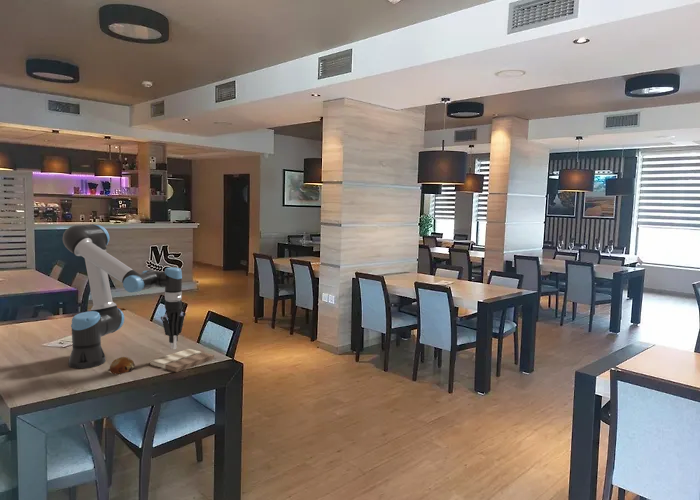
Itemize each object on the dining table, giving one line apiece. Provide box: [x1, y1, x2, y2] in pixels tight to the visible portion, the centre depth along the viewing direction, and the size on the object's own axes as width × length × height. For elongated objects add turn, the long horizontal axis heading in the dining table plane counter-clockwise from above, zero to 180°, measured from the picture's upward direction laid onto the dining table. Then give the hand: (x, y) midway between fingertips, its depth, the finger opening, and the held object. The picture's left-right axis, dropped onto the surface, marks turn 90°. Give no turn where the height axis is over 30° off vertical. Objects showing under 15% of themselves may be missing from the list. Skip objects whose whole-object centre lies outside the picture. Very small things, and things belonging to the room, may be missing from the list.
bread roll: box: [109, 356, 136, 375], centre depth 217 cm, size 10×10×8 cm
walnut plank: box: [165, 352, 215, 373], centre depth 226 cm, size 22×8×2 cm, turn 149°
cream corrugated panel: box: [150, 348, 202, 369], centre depth 231 cm, size 22×9×2 cm, turn 149°
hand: (173, 348), depth 232 cm, fingers closed
